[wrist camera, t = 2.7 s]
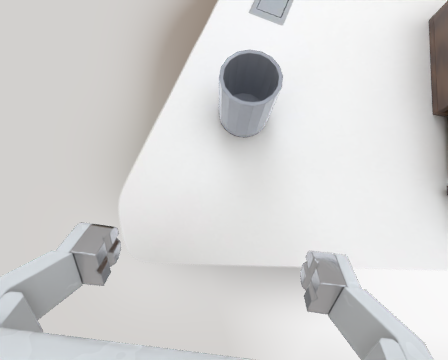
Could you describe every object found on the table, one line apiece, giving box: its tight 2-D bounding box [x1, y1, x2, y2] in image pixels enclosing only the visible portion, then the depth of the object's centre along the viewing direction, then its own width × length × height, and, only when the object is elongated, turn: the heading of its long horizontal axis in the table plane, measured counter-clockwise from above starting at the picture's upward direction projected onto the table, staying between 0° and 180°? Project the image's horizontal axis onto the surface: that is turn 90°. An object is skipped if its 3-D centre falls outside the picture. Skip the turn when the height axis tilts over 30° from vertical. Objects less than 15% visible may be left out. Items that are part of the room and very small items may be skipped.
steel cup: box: [219, 50, 283, 137], centre depth 30 cm, size 6×6×8 cm
